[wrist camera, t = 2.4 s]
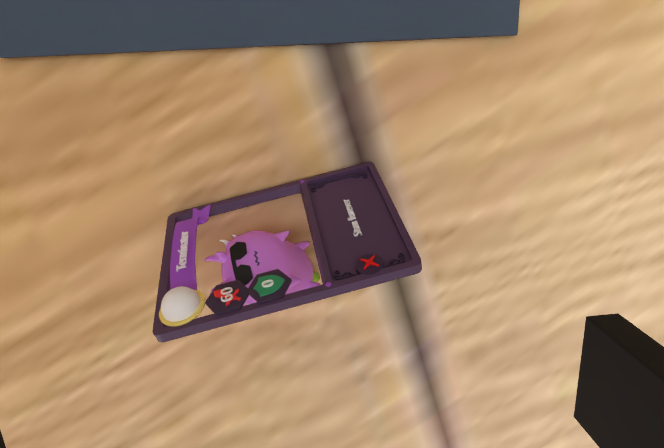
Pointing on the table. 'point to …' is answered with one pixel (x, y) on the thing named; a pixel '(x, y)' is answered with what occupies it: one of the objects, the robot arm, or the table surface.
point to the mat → (237, 23)
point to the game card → (286, 253)
